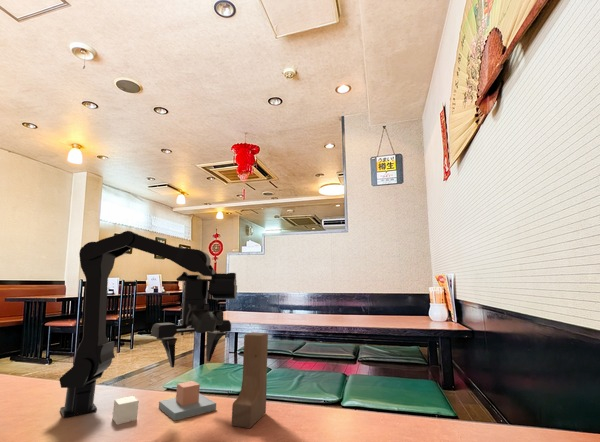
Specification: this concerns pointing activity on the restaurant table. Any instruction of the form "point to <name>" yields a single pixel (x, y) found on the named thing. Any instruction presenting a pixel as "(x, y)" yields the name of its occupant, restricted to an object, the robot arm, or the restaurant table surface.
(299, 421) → the restaurant table surface
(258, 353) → the wooden block
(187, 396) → the terracotta brick
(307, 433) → the restaurant table surface
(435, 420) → the restaurant table surface
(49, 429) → the restaurant table surface
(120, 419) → the cream brick
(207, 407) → the build plate
